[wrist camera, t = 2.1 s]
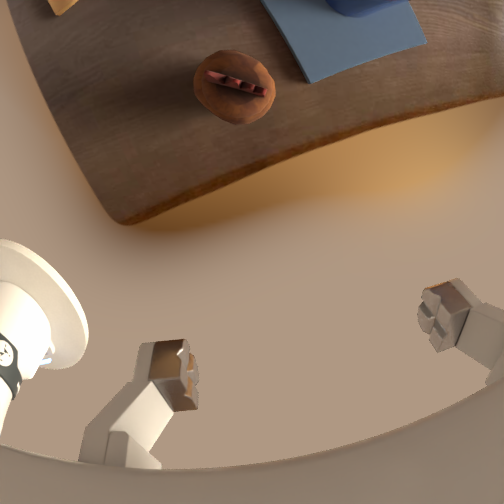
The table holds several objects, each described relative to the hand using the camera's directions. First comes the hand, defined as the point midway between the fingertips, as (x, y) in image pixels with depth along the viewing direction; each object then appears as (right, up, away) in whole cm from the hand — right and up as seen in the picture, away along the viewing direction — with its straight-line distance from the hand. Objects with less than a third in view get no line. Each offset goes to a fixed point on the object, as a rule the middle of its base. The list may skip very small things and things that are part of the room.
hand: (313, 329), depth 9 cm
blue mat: (+7, +28, +13) cm, 32 cm away
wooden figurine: (-4, +18, +17) cm, 26 cm away
